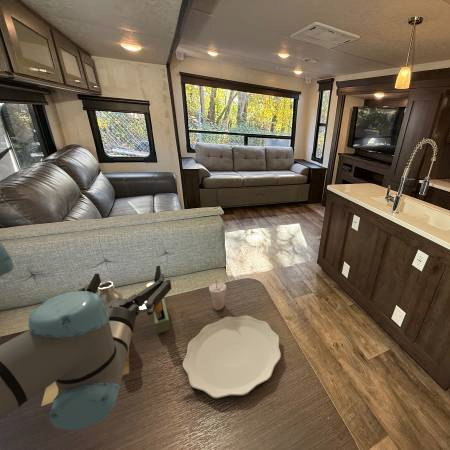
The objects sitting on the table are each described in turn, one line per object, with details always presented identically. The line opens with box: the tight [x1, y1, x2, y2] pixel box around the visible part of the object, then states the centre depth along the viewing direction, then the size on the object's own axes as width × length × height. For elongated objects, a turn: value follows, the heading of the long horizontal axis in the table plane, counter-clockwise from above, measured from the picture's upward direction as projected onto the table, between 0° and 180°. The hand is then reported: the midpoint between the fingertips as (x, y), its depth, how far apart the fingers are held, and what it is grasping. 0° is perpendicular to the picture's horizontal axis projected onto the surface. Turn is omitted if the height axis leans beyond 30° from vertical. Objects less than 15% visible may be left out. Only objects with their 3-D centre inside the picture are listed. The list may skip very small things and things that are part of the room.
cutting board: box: [40, 349, 130, 408], centre depth 69 cm, size 11×18×2 cm, turn 123°
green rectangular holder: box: [153, 297, 171, 335], centre depth 88 cm, size 12×4×6 cm, turn 33°
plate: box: [182, 315, 282, 399], centre depth 79 cm, size 29×29×2 cm
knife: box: [145, 281, 164, 320], centre depth 85 cm, size 8×3×17 cm, turn 33°
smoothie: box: [208, 277, 227, 311], centre depth 96 cm, size 6×6×14 cm
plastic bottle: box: [98, 281, 124, 303], centre depth 79 cm, size 6×7×20 cm
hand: (129, 273), depth 65 cm, fingers open, 13 cm apart
